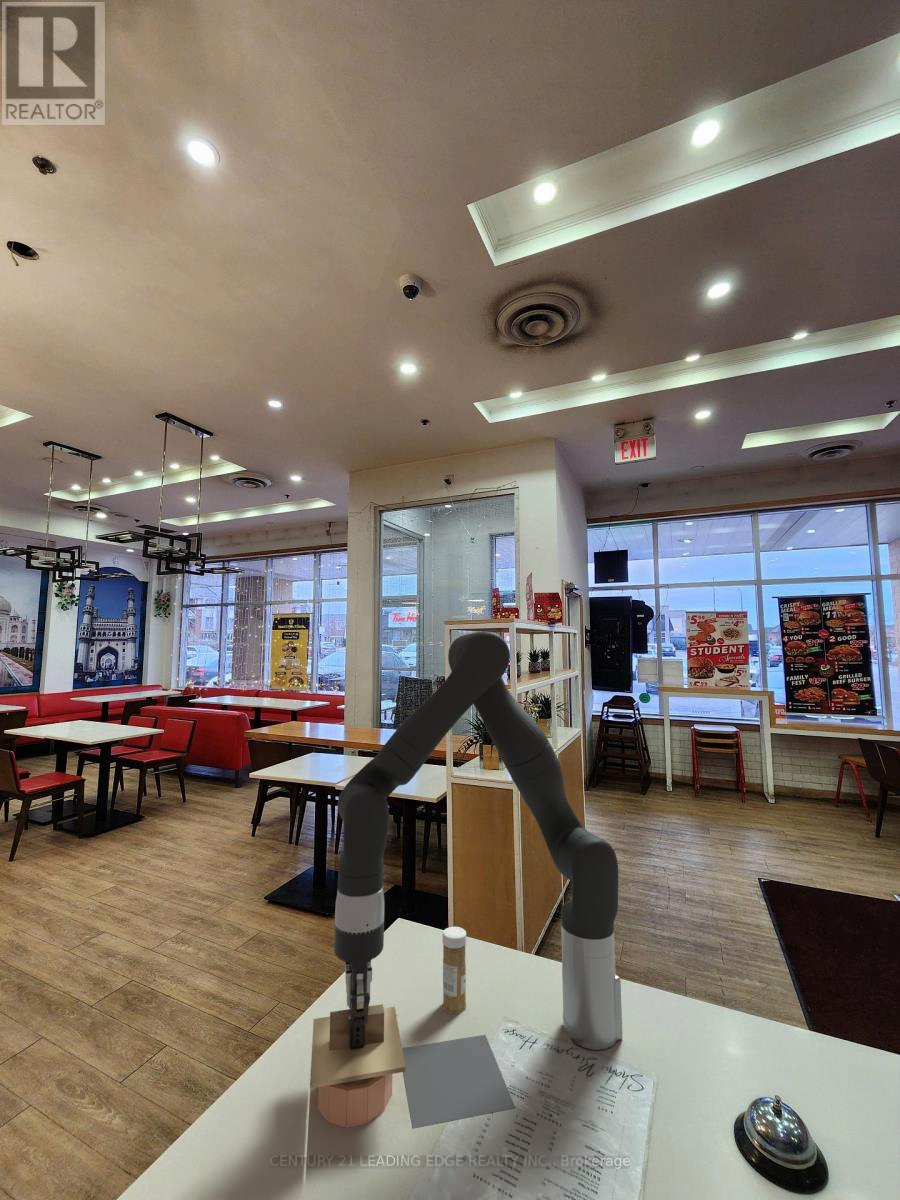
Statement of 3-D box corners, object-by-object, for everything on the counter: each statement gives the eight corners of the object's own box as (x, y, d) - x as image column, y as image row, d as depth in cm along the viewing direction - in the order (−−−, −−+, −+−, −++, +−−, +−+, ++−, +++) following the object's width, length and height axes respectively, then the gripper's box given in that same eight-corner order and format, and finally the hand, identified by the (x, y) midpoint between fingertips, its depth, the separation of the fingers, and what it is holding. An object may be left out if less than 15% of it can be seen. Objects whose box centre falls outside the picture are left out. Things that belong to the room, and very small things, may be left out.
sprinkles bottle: (471, 1011, 95) (471, 933, 96) (450, 1020, 92) (451, 940, 94) (457, 997, 98) (457, 923, 100) (437, 1006, 96) (437, 929, 98)
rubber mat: (485, 1037, 88) (485, 1034, 88) (515, 1111, 73) (515, 1107, 73) (398, 1051, 85) (398, 1048, 85) (412, 1132, 70) (412, 1128, 70)
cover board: (394, 1010, 84) (394, 980, 85) (405, 1071, 72) (405, 1035, 72) (313, 1023, 81) (314, 991, 82) (309, 1088, 69) (311, 1051, 69)
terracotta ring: (387, 1063, 82) (387, 1029, 83) (395, 1121, 72) (395, 1082, 72) (318, 1075, 80) (320, 1040, 80) (316, 1136, 69) (318, 1095, 70)
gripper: (388, 938, 73) (386, 1072, 71) (380, 896, 86) (377, 1007, 84) (335, 944, 71) (330, 1081, 69) (334, 900, 85) (331, 1014, 82)
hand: (356, 1040), depth 77 cm, fingers closed on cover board
